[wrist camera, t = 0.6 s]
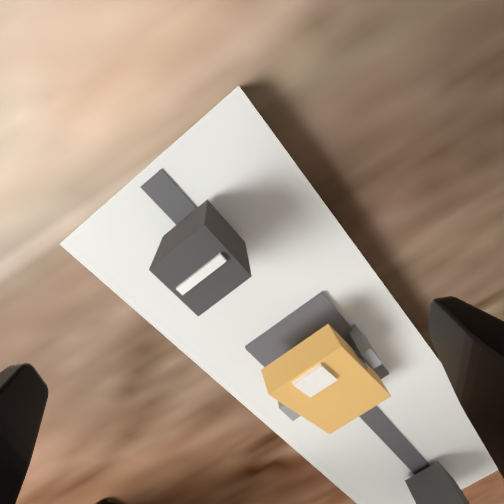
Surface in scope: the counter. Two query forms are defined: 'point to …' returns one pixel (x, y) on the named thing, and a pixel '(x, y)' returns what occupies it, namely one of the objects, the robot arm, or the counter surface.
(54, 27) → the counter surface
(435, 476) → the slider
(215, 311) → the panel
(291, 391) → the tan block
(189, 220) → the slider
